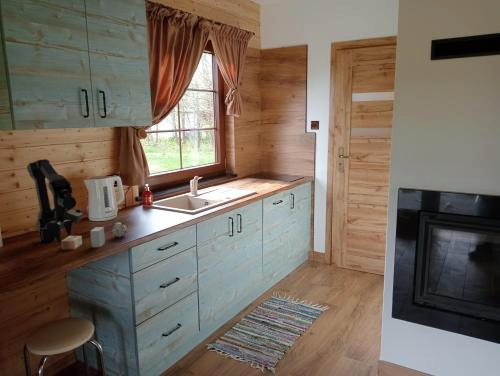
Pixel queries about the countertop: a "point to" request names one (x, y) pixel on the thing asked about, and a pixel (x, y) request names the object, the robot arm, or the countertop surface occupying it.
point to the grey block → (97, 236)
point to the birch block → (71, 242)
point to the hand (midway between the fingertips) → (64, 238)
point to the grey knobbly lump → (119, 229)
